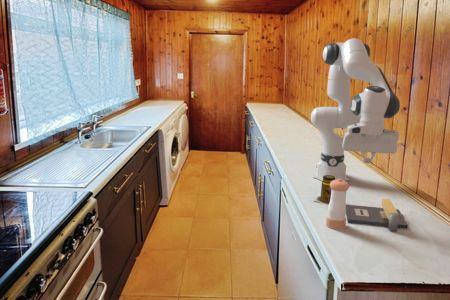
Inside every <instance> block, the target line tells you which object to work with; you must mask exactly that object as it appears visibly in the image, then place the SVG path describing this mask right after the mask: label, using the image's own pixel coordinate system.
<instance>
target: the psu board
mask: <svg viewBox="0 0 450 300" xmlns="http://www.w3.org/2000/svg"><path fill="white" fill-rule="evenodd" d="M395 209H396V208H395ZM396 211H397V213H398V215H399V221H398V228H397V229H405V230H408V228H409V225H408V223H407V221H406V219H405V217H404V216H403V214H402V213H401V211H400V209H399V208H397V209H396ZM345 217H346V222H347V223H348V224H354V225H355V224H356V225H357V224H358V225H365V226H366V225H367V226H374V227H375V226H377V227H387V228H388V226H389V220H388V218H387V216H386V214H385V211H384V209H383V207H376V206H366V205H355V204H346V215H345Z"/></svg>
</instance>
